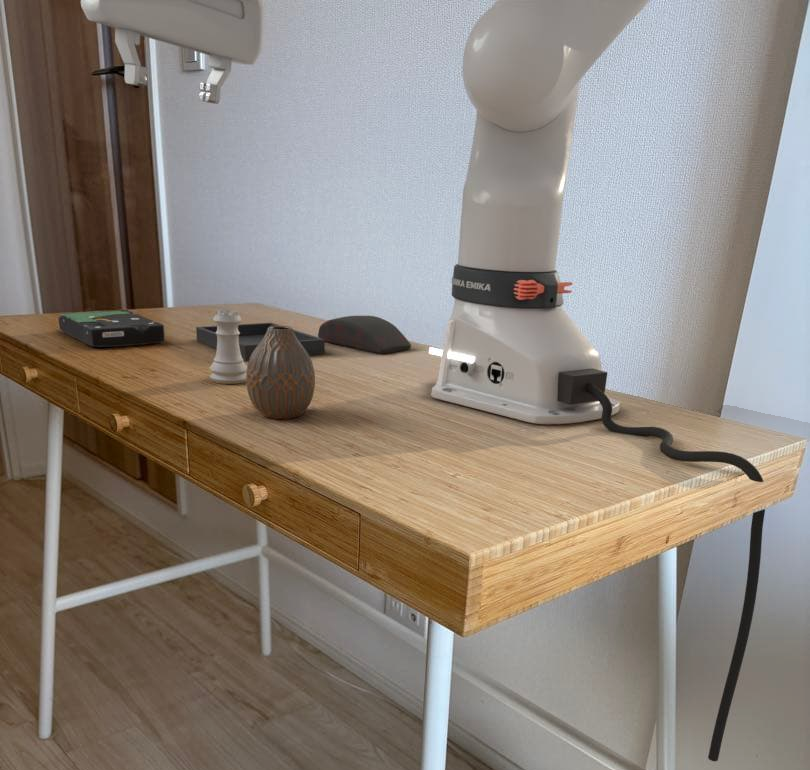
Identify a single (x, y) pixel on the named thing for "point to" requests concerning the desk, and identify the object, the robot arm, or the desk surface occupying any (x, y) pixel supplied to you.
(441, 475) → the desk surface
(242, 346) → the tray
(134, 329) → the disk drive
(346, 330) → the computer mouse
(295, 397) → the vase
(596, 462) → the desk surface
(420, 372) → the desk surface
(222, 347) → the rook chess piece
